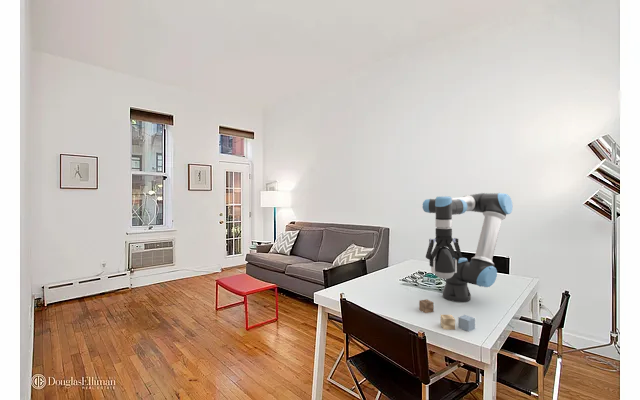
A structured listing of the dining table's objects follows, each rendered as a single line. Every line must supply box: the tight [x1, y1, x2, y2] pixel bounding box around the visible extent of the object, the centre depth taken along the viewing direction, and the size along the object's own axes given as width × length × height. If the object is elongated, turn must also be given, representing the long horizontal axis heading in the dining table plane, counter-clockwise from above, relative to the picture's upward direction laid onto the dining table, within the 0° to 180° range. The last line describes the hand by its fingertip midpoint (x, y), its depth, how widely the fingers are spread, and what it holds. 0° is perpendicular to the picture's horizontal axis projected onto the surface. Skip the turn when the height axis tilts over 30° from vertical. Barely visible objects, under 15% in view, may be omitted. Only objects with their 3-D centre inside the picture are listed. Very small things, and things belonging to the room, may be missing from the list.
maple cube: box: [440, 314, 456, 331], centre depth 146 cm, size 5×5×5 cm
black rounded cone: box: [434, 247, 455, 280], centre depth 156 cm, size 10×10×15 cm
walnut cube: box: [418, 299, 434, 314], centre depth 166 cm, size 5×5×5 cm
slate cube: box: [457, 314, 476, 333], centre depth 145 cm, size 5×5×5 cm
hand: (443, 272), depth 156 cm, fingers closed on black rounded cone, 10 cm apart
